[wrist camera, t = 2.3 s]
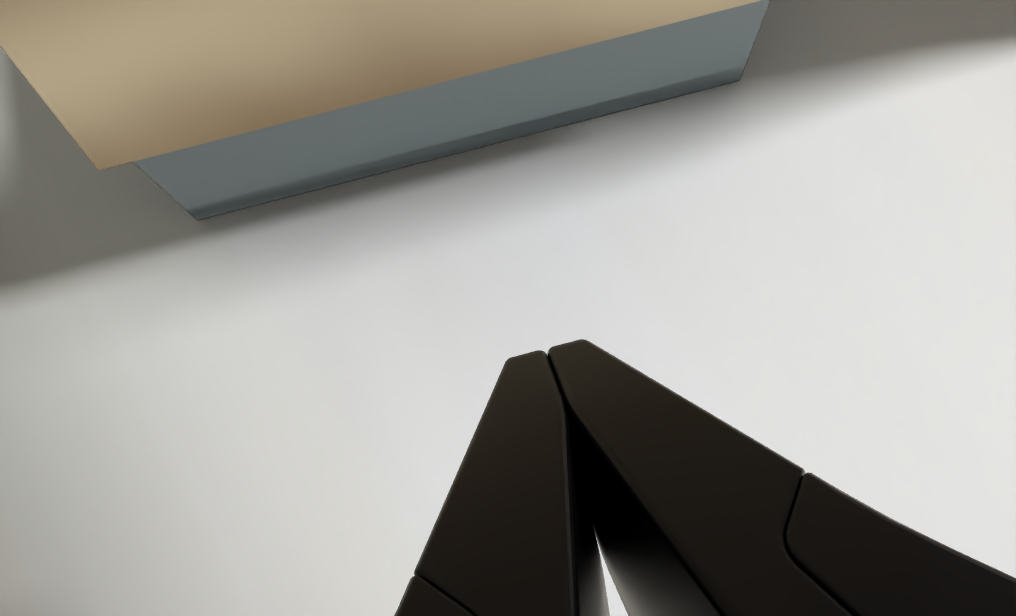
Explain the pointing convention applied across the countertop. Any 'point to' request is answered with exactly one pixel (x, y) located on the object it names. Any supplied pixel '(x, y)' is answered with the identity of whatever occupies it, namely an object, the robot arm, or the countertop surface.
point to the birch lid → (278, 57)
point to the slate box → (459, 114)
